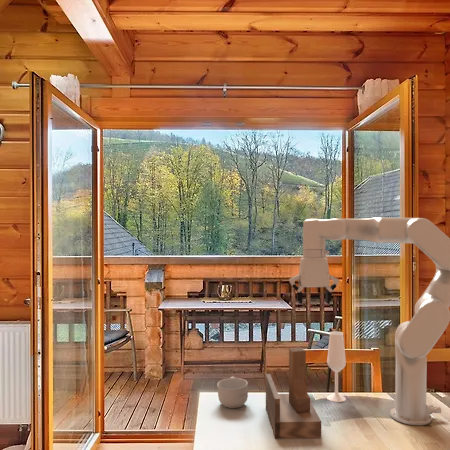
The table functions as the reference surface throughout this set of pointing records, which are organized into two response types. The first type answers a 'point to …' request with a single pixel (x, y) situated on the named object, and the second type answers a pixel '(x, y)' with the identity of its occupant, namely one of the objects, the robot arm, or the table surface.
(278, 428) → the walnut shelf
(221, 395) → the teacup
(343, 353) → the champagne flute
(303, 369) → the wooden block
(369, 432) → the table surface
